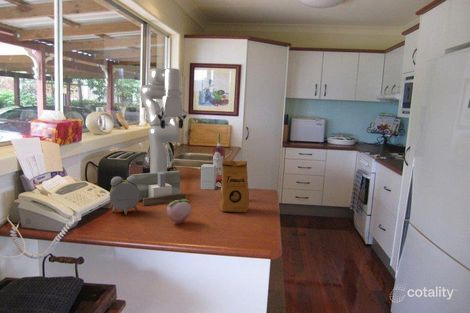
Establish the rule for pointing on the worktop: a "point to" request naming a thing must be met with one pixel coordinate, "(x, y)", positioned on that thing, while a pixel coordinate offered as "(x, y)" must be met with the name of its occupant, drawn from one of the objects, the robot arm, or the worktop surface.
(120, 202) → the alarm clock
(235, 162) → the coffee package
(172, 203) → the decorative fruit
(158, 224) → the worktop surface
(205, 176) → the supplement box
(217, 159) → the liquor
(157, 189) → the white block gray post
